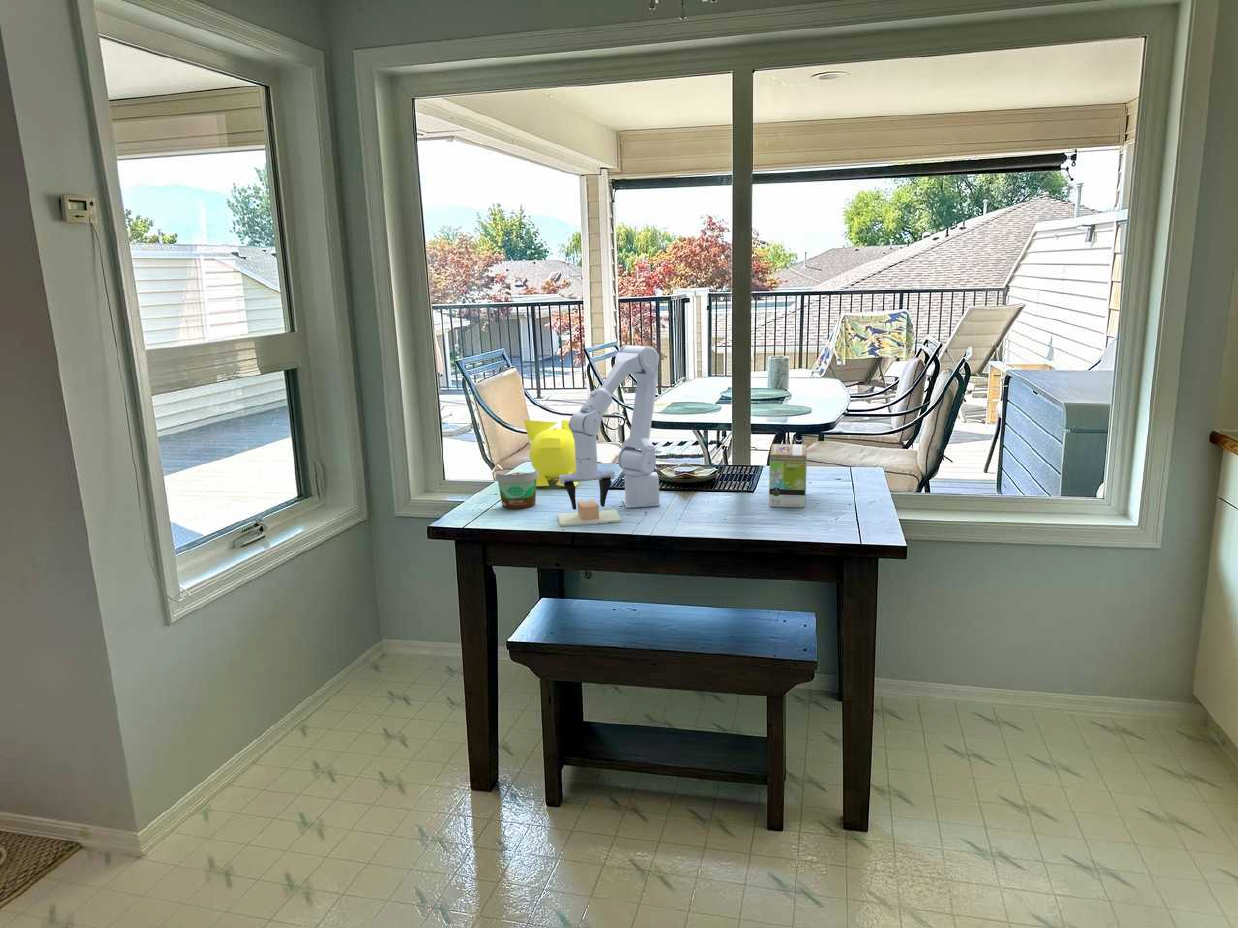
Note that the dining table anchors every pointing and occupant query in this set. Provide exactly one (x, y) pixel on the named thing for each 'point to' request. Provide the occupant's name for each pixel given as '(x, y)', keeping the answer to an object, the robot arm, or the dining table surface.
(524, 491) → the food container
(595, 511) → the light orange block
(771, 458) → the tea box
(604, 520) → the mat
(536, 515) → the dining table surface
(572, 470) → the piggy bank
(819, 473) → the dining table surface
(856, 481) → the dining table surface
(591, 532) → the dining table surface
